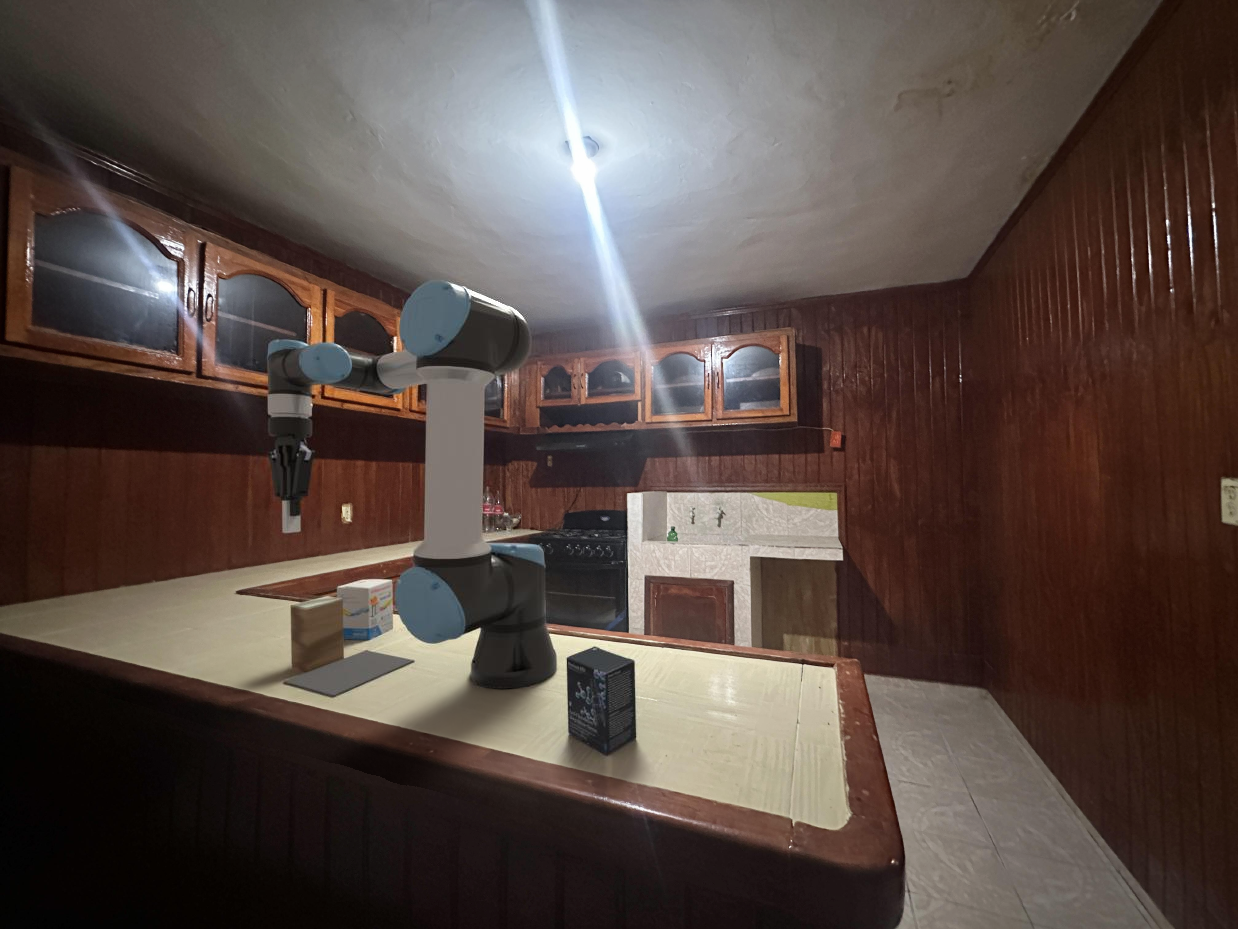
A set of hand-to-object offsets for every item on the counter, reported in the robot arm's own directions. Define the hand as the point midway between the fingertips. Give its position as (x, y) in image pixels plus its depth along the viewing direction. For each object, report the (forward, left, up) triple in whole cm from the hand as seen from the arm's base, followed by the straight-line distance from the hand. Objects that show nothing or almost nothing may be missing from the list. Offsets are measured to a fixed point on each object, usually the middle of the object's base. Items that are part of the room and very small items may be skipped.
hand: (291, 532), depth 100 cm
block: (-10, +1, -25) cm, 27 cm away
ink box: (-2, -15, -25) cm, 29 cm away
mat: (-20, +1, -25) cm, 32 cm away
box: (-73, +2, -25) cm, 77 cm away
